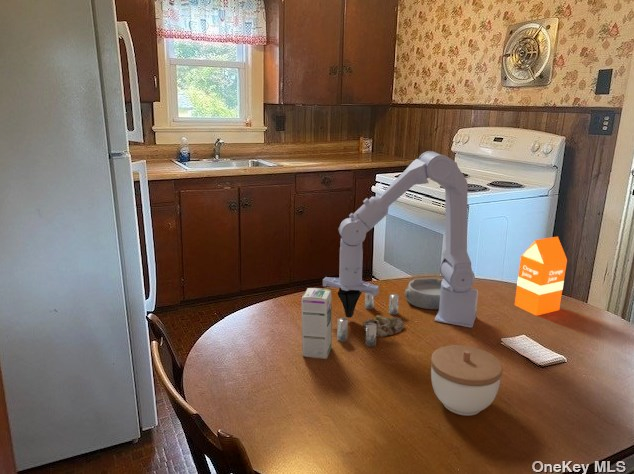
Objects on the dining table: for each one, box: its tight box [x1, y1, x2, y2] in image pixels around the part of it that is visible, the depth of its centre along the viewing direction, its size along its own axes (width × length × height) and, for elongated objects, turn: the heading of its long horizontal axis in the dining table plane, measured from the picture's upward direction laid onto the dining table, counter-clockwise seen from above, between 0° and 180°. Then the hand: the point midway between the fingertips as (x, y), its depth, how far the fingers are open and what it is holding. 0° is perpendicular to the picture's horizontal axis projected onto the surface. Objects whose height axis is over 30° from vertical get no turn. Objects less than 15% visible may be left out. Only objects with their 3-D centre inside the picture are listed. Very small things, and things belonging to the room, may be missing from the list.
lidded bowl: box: [430, 344, 503, 417], centre depth 90 cm, size 13×13×11 cm
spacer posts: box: [336, 293, 400, 348], centre depth 123 cm, size 9×22×5 cm, turn 155°
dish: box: [404, 277, 443, 310], centre depth 138 cm, size 14×14×5 cm
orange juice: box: [514, 236, 568, 316], centre depth 131 cm, size 8×9×20 cm
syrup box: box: [300, 287, 333, 360], centre depth 108 cm, size 6×6×14 cm
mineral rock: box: [361, 314, 405, 338], centre depth 121 cm, size 11×4×8 cm
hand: (349, 315), depth 125 cm, fingers closed
